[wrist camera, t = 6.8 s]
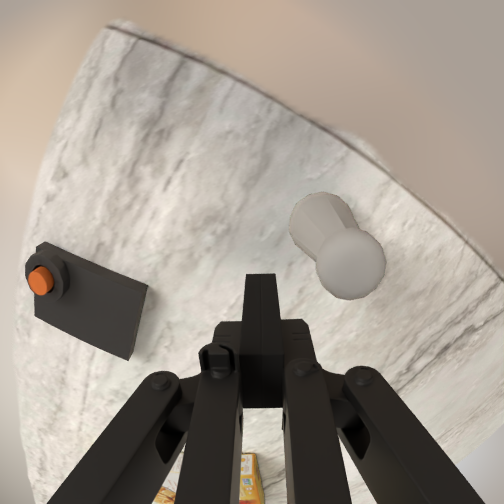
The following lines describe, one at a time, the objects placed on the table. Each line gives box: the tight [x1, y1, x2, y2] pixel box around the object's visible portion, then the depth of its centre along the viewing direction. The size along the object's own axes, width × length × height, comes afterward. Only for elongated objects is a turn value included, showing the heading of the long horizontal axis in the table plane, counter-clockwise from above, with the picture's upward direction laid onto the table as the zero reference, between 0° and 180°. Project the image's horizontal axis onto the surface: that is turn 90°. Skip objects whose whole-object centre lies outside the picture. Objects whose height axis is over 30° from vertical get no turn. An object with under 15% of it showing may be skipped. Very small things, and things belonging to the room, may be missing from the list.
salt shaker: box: [289, 192, 386, 300], centre depth 23 cm, size 6×6×13 cm
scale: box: [25, 242, 148, 361], centre depth 31 cm, size 14×10×4 cm
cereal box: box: [152, 453, 265, 504], centre depth 43 cm, size 20×6×28 cm
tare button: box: [28, 267, 54, 295], centre depth 28 cm, size 3×3×2 cm
